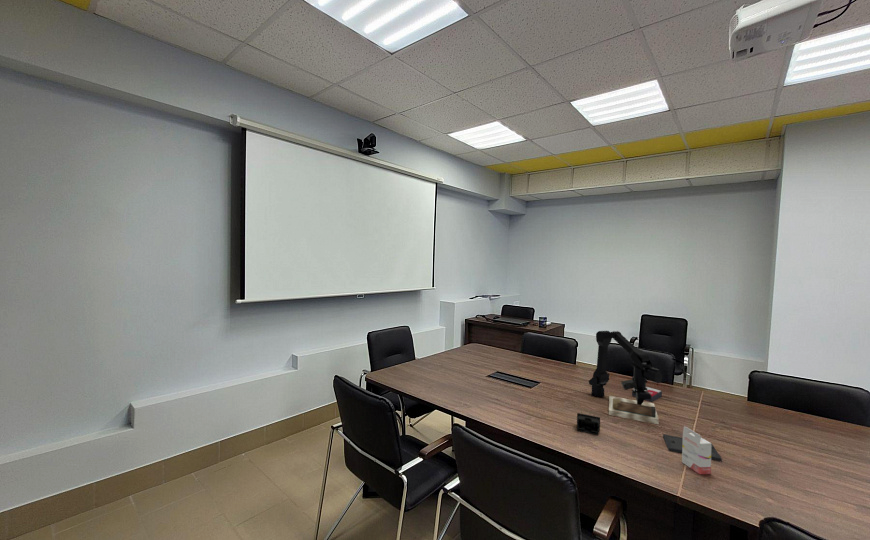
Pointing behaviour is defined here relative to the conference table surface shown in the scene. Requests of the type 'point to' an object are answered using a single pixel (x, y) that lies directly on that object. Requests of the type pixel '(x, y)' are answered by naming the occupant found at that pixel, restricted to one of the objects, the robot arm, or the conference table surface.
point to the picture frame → (676, 446)
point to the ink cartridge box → (696, 452)
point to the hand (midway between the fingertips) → (638, 405)
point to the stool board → (630, 414)
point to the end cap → (588, 424)
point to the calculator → (652, 394)
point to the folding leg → (634, 408)
